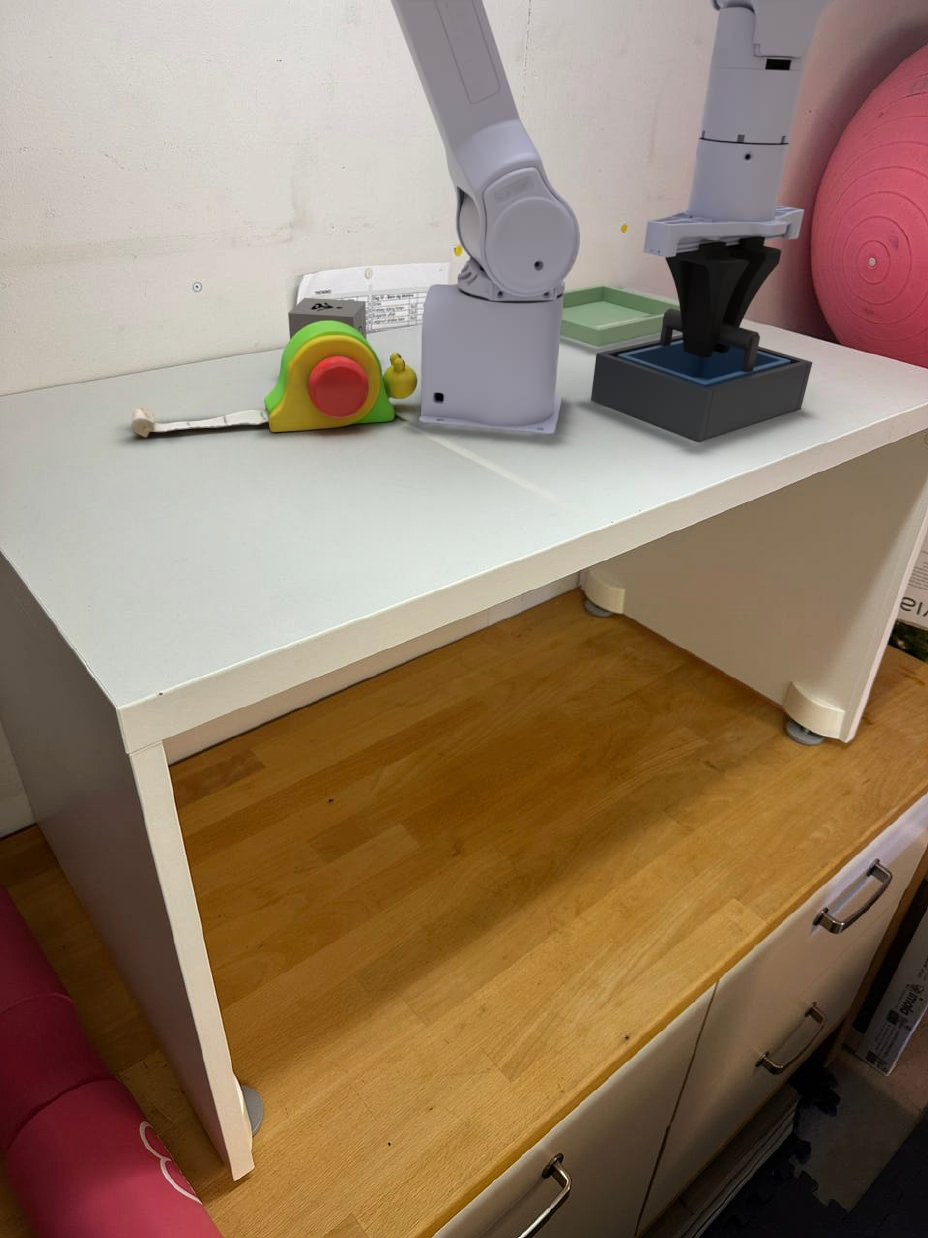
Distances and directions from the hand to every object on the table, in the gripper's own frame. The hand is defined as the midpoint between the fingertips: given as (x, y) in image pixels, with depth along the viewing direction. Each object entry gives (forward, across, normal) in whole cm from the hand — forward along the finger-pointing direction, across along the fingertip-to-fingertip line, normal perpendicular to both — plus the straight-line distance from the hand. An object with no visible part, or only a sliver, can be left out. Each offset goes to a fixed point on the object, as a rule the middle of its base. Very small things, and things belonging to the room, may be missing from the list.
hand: (705, 351), depth 65 cm
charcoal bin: (+4, 0, 0) cm, 4 cm away
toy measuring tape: (+5, -27, +15) cm, 31 cm away
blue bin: (+4, 0, 0) cm, 4 cm away
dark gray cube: (+5, -18, +23) cm, 29 cm away
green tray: (+4, +12, +21) cm, 25 cm away
